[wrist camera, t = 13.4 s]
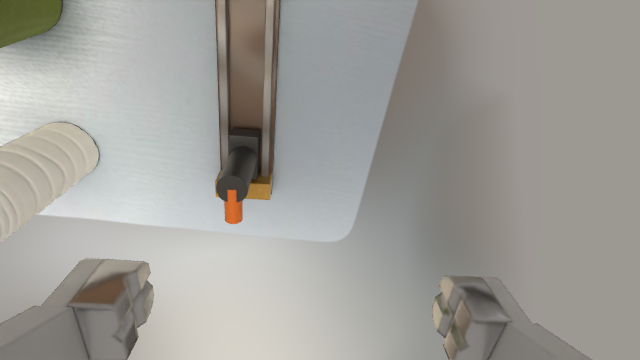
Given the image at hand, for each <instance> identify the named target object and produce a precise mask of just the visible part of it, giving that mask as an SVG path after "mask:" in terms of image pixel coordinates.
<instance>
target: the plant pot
mask: <svg viewBox="0 0 640 360" xmlns="http://www.w3.org/2000/svg"><path fill="white" fill-rule="evenodd" d="M61 11H62V0H0V48H2V47H5V46H8V45H10V44H13V43H16V42H18V41H21V40H24V39H27V38H30V37H32V36H35V35H38V34H41V33H43V32H46V31H47V30H49V29H50V28H52V27H53V26H54V25H55V24H56V23H57V21H58V20H59V17H60V14H61Z"/></svg>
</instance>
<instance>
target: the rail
mask: <svg viewBox="0 0 640 360" xmlns="http://www.w3.org/2000/svg"><path fill="white" fill-rule="evenodd" d="M215 10H216V40H217V70H218V100H219V130H220V160H221V170H222V171H223V169H224V167H225V165H226V162H227V160H228V158H229V134H230V132H231V131H232V129H233V128H238V129H251V130H260V160H259V172H261V177H268V175H269V173H272V178H273V155H274V131H275V108H276V84H277V61H278V38H279V14H280V0H215ZM271 194H272V189H271Z"/></svg>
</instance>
